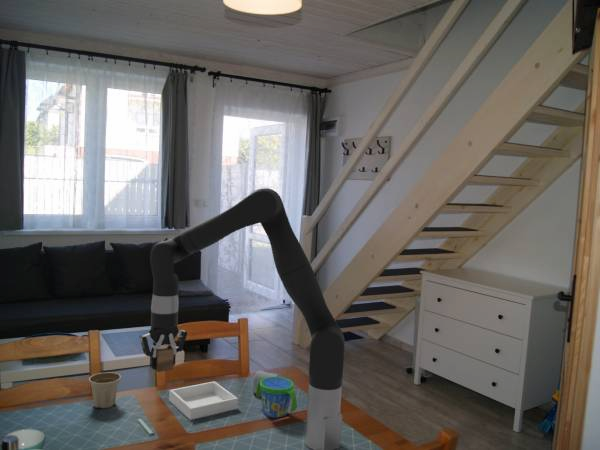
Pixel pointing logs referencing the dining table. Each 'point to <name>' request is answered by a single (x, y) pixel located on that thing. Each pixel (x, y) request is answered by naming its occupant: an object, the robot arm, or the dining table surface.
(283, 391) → the snack cup
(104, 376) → the flower pot
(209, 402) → the white bin
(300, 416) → the dining table surface
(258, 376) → the ceramic mug
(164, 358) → the walnut block
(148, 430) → the sage mat
